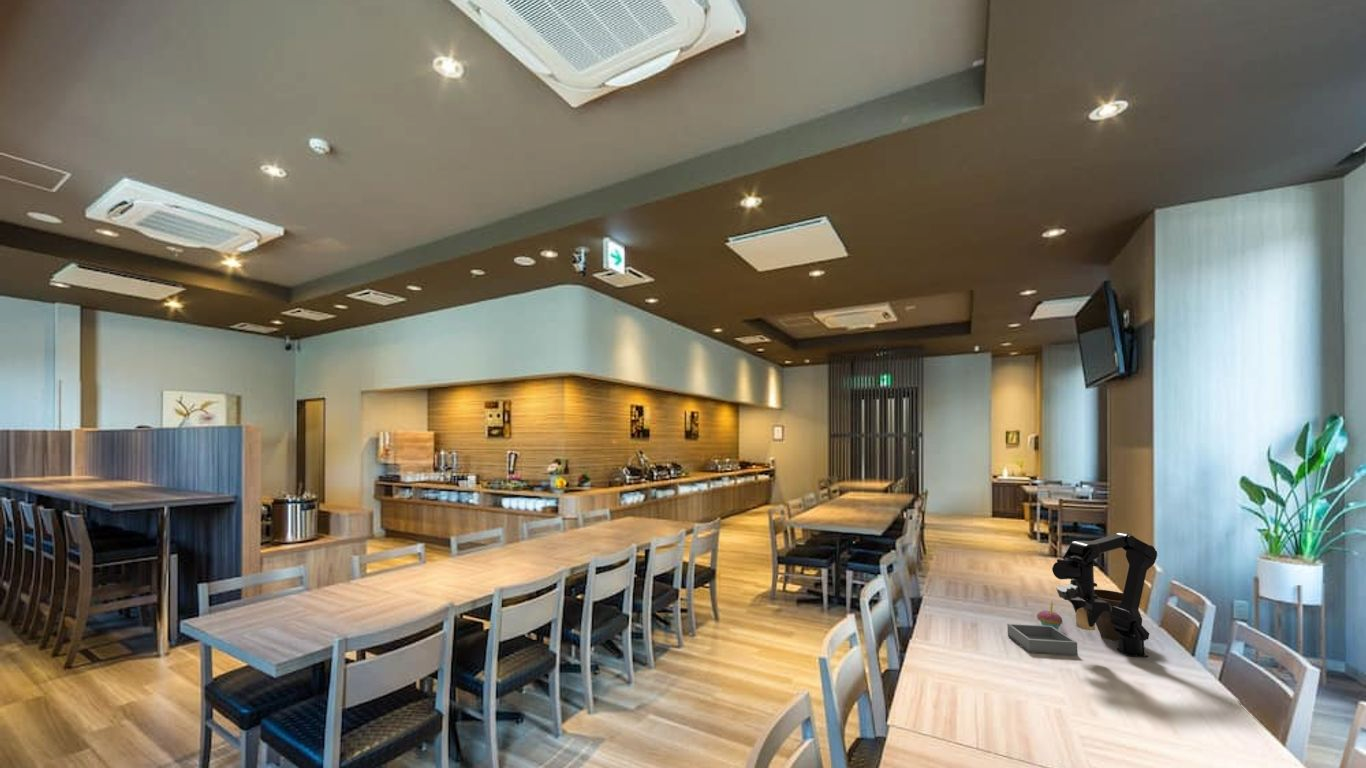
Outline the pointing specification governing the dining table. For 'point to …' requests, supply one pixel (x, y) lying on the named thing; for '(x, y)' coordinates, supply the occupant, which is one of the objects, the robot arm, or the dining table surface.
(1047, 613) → the cupcake
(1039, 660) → the dining table surface
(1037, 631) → the bin
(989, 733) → the dining table surface
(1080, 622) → the tan oval piece
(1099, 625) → the plant pot
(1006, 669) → the dining table surface
